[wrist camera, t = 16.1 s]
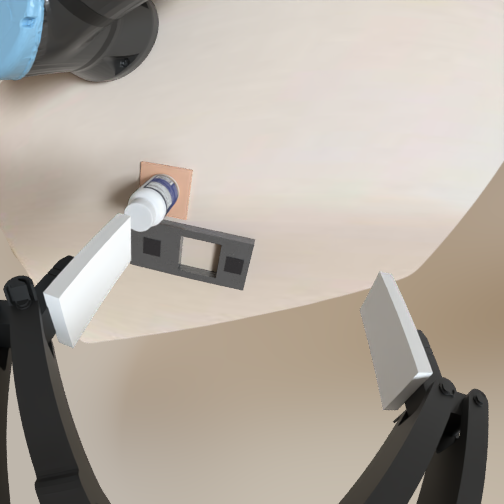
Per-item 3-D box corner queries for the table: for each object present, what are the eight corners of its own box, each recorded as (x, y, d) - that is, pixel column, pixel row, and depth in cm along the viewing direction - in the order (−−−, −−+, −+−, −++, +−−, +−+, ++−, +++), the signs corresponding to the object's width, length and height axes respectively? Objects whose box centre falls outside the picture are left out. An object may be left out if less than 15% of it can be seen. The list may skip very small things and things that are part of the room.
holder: (133, 259, 51) (130, 264, 50) (134, 213, 47) (129, 218, 45) (243, 284, 52) (242, 290, 50) (254, 239, 47) (254, 245, 46)
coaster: (139, 209, 46) (138, 210, 46) (142, 161, 42) (141, 162, 42) (186, 218, 46) (185, 220, 46) (192, 170, 42) (192, 170, 42)
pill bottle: (156, 210, 46) (130, 241, 37) (141, 180, 43) (111, 205, 35) (185, 200, 44) (164, 230, 36) (171, 167, 42) (145, 191, 33)
